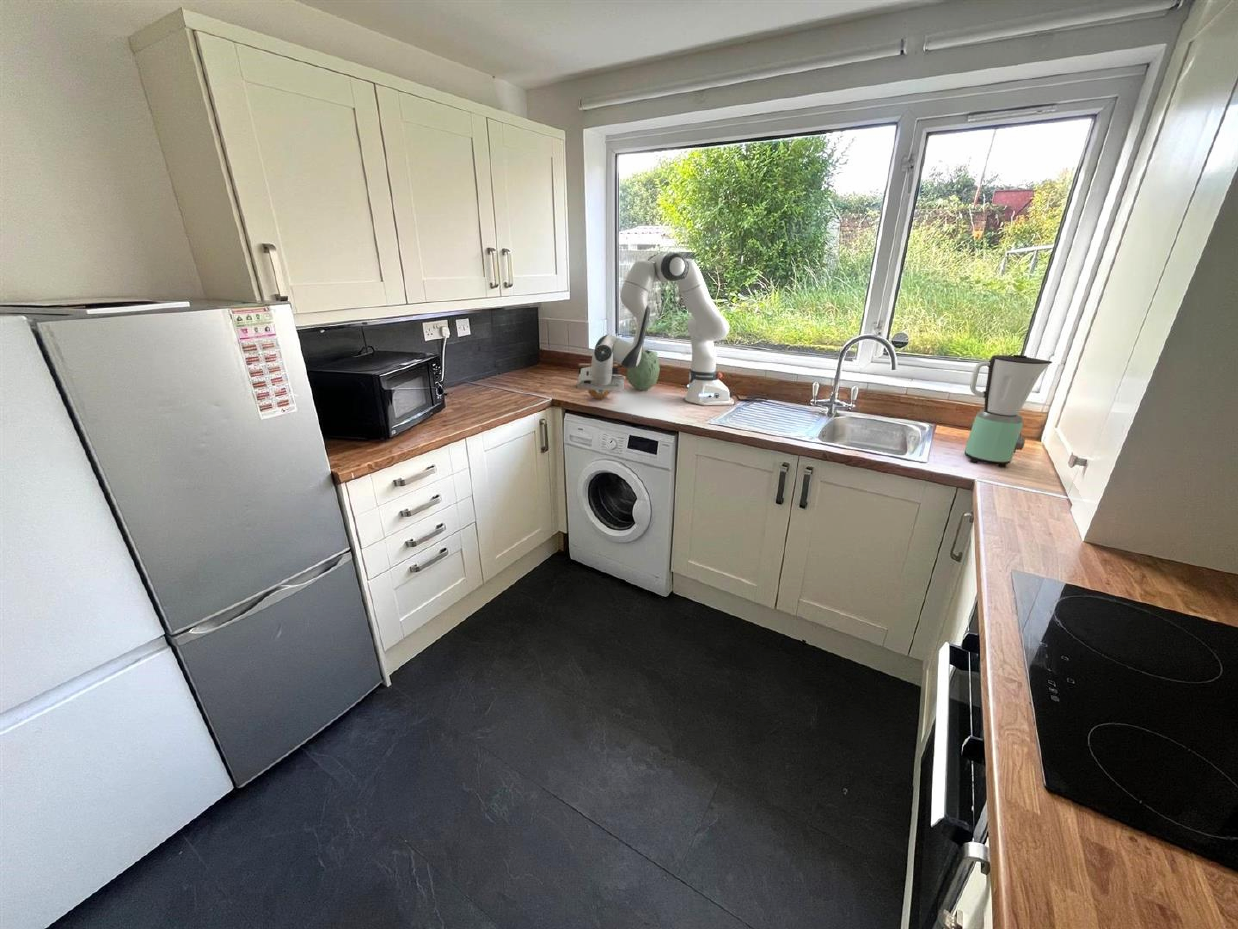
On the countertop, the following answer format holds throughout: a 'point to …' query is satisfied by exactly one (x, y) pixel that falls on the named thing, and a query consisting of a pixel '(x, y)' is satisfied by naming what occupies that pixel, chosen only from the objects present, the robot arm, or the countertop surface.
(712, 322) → the robot arm
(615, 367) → the shoe shelf
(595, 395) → the potato
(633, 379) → the green rounded bumpy piece
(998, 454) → the green blender
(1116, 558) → the countertop surface
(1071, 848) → the countertop surface
